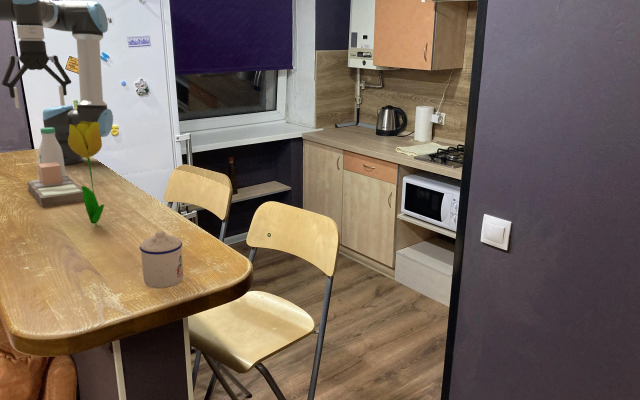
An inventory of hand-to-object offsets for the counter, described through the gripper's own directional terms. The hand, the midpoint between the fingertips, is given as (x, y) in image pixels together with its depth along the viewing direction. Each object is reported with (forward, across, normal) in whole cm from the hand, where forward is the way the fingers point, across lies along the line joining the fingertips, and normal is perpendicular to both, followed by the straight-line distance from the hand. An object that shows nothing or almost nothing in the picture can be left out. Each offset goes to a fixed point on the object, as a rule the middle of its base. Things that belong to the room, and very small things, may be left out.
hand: (40, 106), depth 177 cm
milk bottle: (+29, +3, +10) cm, 31 cm away
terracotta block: (+26, 0, 0) cm, 26 cm away
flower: (+29, +3, -44) cm, 53 cm away
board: (+29, 0, -6) cm, 30 cm away
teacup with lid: (+30, +6, -88) cm, 93 cm away
